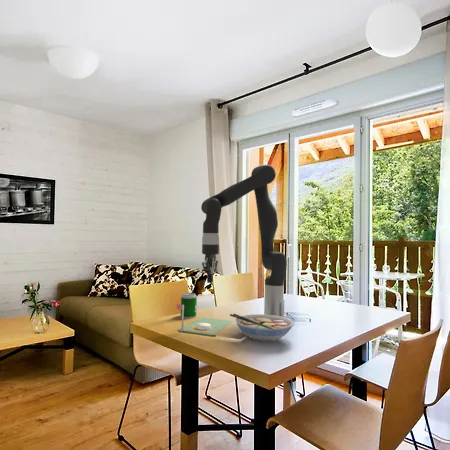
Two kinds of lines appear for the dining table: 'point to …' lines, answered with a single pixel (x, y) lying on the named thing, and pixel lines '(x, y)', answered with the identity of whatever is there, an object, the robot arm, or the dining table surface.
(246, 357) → the dining table surface
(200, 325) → the white dome knob
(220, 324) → the putting board
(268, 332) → the ramen bowl
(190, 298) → the soda can
